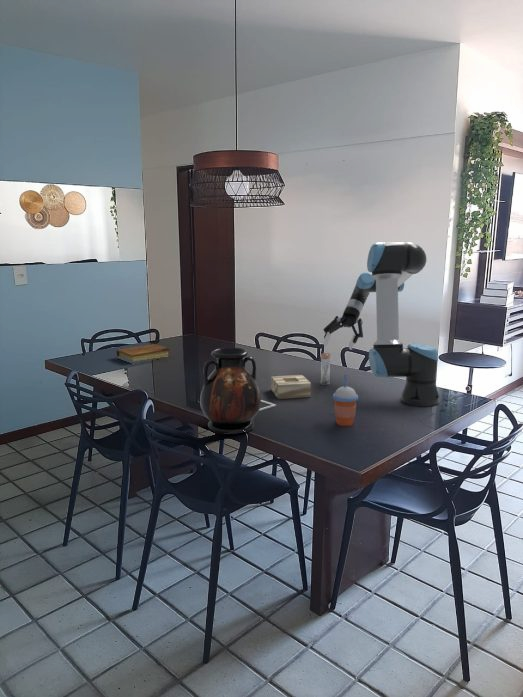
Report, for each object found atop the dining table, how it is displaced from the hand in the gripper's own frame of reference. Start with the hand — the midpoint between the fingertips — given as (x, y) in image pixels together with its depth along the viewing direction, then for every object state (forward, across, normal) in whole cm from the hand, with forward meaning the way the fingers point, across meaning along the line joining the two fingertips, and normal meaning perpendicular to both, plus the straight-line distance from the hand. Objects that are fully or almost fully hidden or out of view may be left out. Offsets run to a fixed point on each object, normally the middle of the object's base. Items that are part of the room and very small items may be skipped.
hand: (336, 346), depth 253 cm
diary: (+29, +109, +5) cm, 113 cm away
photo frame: (+51, +9, +28) cm, 59 cm away
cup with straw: (+48, -33, +25) cm, 63 cm away
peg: (+18, 0, -4) cm, 19 cm away
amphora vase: (+68, -2, +45) cm, 81 cm away
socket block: (+34, +4, +11) cm, 36 cm away
